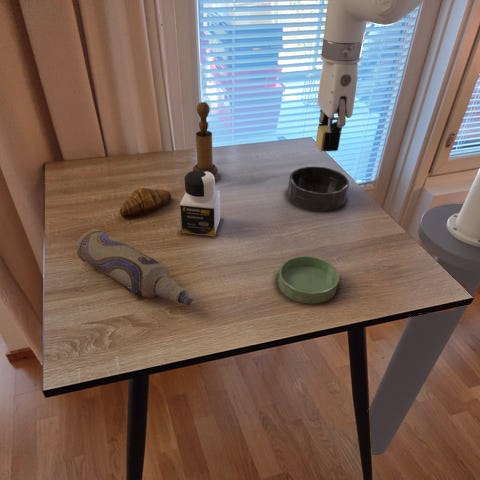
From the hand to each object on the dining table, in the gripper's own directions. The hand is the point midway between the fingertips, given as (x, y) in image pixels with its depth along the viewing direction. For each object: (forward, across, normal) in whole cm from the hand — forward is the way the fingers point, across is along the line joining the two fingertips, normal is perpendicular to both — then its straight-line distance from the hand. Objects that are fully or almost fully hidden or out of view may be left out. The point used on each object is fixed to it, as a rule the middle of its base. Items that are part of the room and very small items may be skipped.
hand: (326, 145), depth 93 cm
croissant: (+12, 0, +42) cm, 43 cm away
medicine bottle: (+13, -10, +30) cm, 34 cm away
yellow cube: (0, 0, 0) cm, 0 cm away
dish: (+13, -32, +12) cm, 36 cm away
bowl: (+13, 0, +1) cm, 13 cm away
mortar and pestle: (+12, +14, +27) cm, 32 cm away
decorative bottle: (+13, -28, +44) cm, 54 cm away
